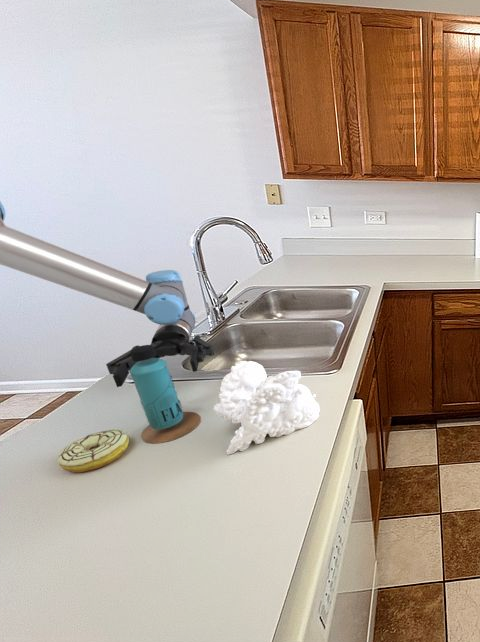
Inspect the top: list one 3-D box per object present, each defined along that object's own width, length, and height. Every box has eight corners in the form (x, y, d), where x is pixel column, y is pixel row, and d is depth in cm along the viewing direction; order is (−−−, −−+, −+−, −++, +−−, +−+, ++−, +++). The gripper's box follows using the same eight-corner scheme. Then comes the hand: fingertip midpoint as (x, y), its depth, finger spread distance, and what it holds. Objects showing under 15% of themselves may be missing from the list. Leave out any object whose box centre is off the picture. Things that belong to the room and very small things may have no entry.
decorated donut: (97, 439, 87) (91, 425, 85) (144, 441, 86) (139, 426, 85) (46, 474, 77) (39, 459, 76) (99, 476, 76) (92, 461, 75)
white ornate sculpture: (345, 376, 94) (269, 367, 77) (321, 462, 91) (237, 472, 74) (294, 361, 103) (216, 350, 86) (271, 439, 100) (186, 443, 83)
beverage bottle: (166, 437, 87) (138, 356, 79) (143, 432, 88) (113, 352, 81) (193, 419, 92) (169, 342, 85) (171, 415, 94) (145, 339, 87)
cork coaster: (128, 442, 86) (127, 440, 86) (168, 412, 96) (168, 410, 96) (175, 445, 85) (175, 443, 85) (211, 414, 95) (211, 412, 95)
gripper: (229, 340, 112) (226, 374, 95) (116, 360, 101) (88, 403, 83) (223, 316, 109) (218, 346, 92) (106, 334, 98) (75, 372, 81)
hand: (156, 373), depth 88 cm, fingers open, 13 cm apart
